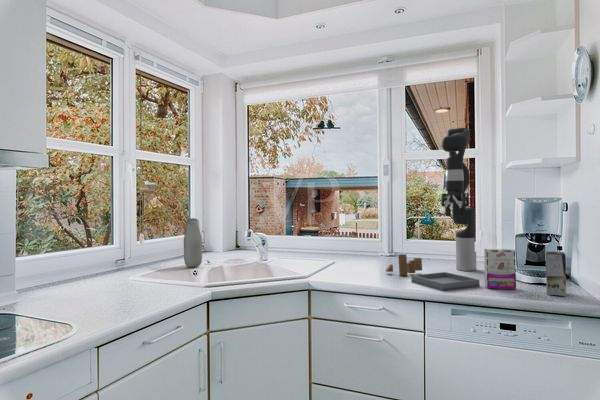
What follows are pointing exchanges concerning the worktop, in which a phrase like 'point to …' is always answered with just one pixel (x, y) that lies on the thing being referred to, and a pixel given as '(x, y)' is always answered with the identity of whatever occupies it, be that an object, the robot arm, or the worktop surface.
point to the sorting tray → (445, 281)
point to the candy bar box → (500, 269)
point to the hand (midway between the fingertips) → (454, 216)
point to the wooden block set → (407, 265)
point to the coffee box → (556, 273)
